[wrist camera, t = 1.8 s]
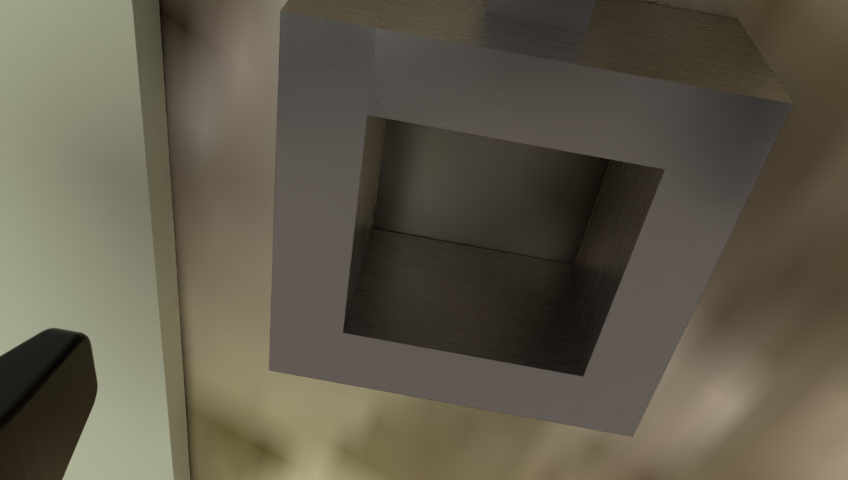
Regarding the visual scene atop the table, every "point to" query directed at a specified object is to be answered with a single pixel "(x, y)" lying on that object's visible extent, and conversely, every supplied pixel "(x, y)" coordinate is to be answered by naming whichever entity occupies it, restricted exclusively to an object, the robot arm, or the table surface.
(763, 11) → the table surface
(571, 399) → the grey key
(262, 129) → the table surface
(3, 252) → the pale green rectangular panel
